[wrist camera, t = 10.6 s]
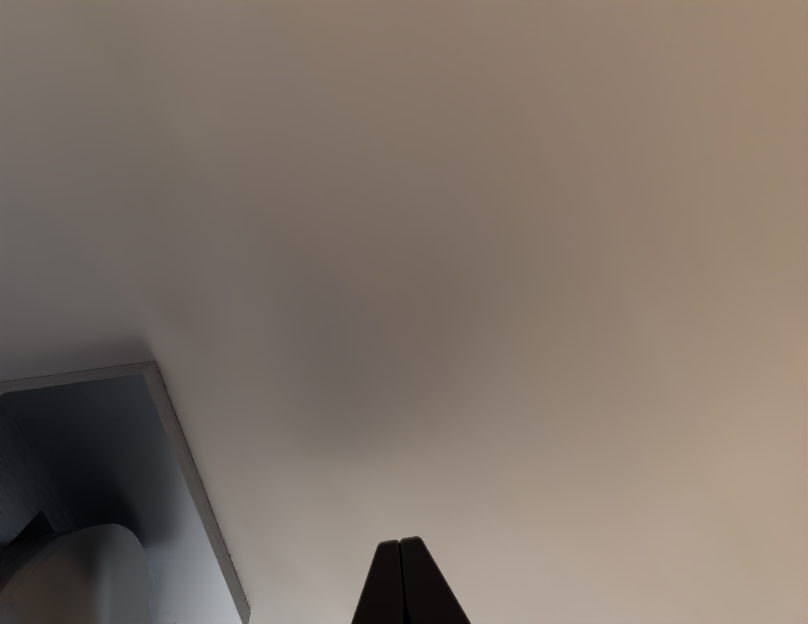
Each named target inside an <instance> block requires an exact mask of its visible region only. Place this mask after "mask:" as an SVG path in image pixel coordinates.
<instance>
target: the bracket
mask: <svg viewBox="0 0 808 624" xmlns="http://www.w3.org/2000/svg"><path fill="white" fill-rule="evenodd" d="M102 524H117V525H121V526H123V527H126V528H127V529H129V530H130V531H131V532H133V534H134V535H135V536H136V537H137V538H138V540H139V542H140V543H141V545H142V548H143V550H144V552H145V556H146V559H147V563H148V569H149V577H150V606H149V615H148V623H147V624H248V622H249V618H250V614H251V612H250V610H249V607H248V604H247V602H246V599H245V596H244V594H243V591H242V589H241V586H240V583H239V581H238V578H237V575H236V573H235V570H234V568H233V565H232V562H231V560H230V557H229V554H228V552H227V549H226V547H225V544H224V541H223V539H222V536H221V533H220V531H219V528H218V526H217V523H216V520H215V518H214V515H213V512H212V510H211V507H210V505H209V502H208V499H207V497H206V494H205V491H204V489H203V486H202V484H201V481H200V478H199V476H198V473H197V470H196V468H195V465H194V463H193V460H192V457H191V455H190V452H189V450H188V447H187V444H186V442H185V439H184V436H183V434H182V431H181V429H180V426H179V423H178V421H177V418H176V415H175V413H174V410H173V408H172V405H171V402H170V400H169V397H168V394H167V392H166V389H165V387H164V384H163V381H162V379H161V376H160V373H159V371H158V368H157V366H156V363H155V361H152V362H145V363H138V364H131V365H123V366H116V367H109V368H102V369H94V370H87V371H80V372H73V373H65V374H58V375H51V376H44V377H37V378H29V379H22V380H15V381H8V382H0V552H1V551H3V550H4V549H6V548H7V547H9V546H11V545H13V544H15V543H17V542H18V541H21V540H23V539H26V538H29V537H32V536H36V535H41V534H46V533H53V532H59V531H65V530H71V529H77V528H83V527H89V526H96V525H102Z"/></svg>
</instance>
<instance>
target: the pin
mask: <svg viewBox="0 0 808 624" xmlns="http://www.w3.org/2000/svg"><path fill="white" fill-rule="evenodd" d="M149 606H150V577H149V569H148V563H147V559H146V556H145V552H144V550H143V548H142V545H141V543H140V542H139V540H138V538H137V537H136V536H135V535H134V534H133V532H131V531H130V530H129V529H127V528H126V527H123V526H121V525H117V524H102V525H96V526H89V527H83V528H77V529H71V530H65V531H59V532H53V533H46V534H41V535H36V536H32V537H29V538H26V539H23V540H21V541H18V542H17V543H15V544H13V545H11V546H9V547H7V548H6V549H4V550H3V551H1V552H0V624H147V623H148V615H149Z"/></svg>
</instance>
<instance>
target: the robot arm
mask: <svg viewBox="0 0 808 624" xmlns="http://www.w3.org/2000/svg"><path fill="white" fill-rule="evenodd" d="M351 624H471V623H470V621H469V619H468V617H467V616H466V614H465V612H464V611H463V609H462V607H461V605H460V604H459V602H458V600H457V599H456V597H455V595H454V593H453V592H452V590H451V588H450V587H449V585H448V583H447V581H446V580H445V578H444V576H443V575H442V573H441V571H440V569H439V568H438V566H437V564H436V563H435V561H434V559H433V557H432V556H431V554H430V552H429V551H428V549H427V547H426V545H425V544H424V542H423V540H422V539H421V538H420V537H418V536H415V537H408V538H403V539H402V540H401V541H400V543H399V541H398V540H390V541H384V542H380V543H379V544H378V546H377V549H376V552H375V555H374V558H373V560H372V563H371V566H370V569H369V572H368V575H367V578H366V581H365V584H364V587H363V590H362V593H361V596H360V599H359V602H358V605H357V608H356V611H355V614H354V617H353V620H352V623H351Z"/></svg>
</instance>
